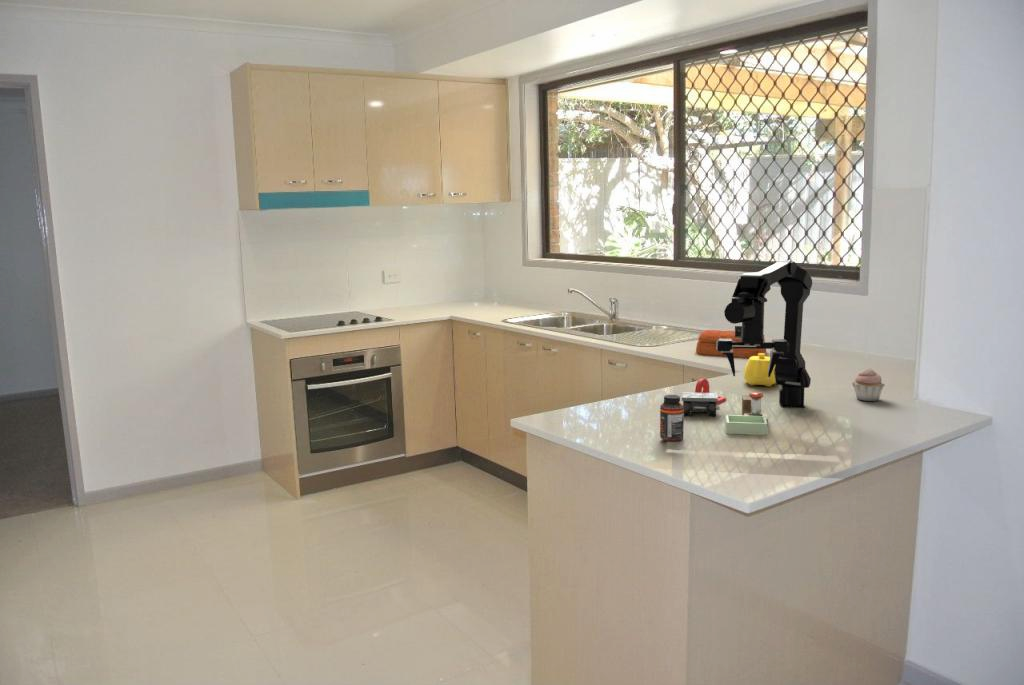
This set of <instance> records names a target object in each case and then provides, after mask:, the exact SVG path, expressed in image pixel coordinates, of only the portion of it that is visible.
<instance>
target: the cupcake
mask: <svg viewBox="0 0 1024 685" xmlns="http://www.w3.org/2000/svg"><path fill="white" fill-rule="evenodd" d="M854 380H855V381H852V382H851V386H852V387H853V389H854V391H855V396H856V399H858V400H860V401H863V402H864V401H865V402H876V401H879V400H880V397H881V394H882V390H883V389H884V387H885V385H886V384H885V383H883V382H882V376H881V375H880V373H878V372H876V371H875V370H874V368H872V367H870V366H867V367H866V368H865V369H864V370H861V371H860V372H858V374H857V376H855V378H854Z"/></svg>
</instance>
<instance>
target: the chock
mask: <svg viewBox="0 0 1024 685" xmlns="http://www.w3.org/2000/svg"><path fill="white" fill-rule="evenodd" d="M741 413H742V415H744V413H751V397H749V394H743V395H741Z"/></svg>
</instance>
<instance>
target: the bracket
mask: <svg viewBox="0 0 1024 685" xmlns="http://www.w3.org/2000/svg"><path fill="white" fill-rule="evenodd" d="M694 393H710V382H709V380H708V379H706V378H699V379H698V380H697V382H696V384H695V390H694ZM725 400H726V401H727V397H726V396H723V395H722V396H720V395H718V402H716V404H717V405H719V404H721V403H723V401H724V402H726V401H725ZM718 403H719V404H718Z"/></svg>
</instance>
